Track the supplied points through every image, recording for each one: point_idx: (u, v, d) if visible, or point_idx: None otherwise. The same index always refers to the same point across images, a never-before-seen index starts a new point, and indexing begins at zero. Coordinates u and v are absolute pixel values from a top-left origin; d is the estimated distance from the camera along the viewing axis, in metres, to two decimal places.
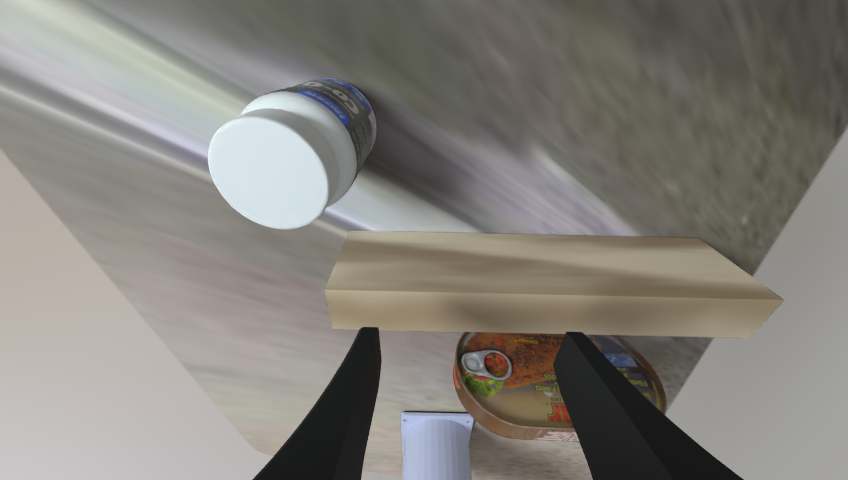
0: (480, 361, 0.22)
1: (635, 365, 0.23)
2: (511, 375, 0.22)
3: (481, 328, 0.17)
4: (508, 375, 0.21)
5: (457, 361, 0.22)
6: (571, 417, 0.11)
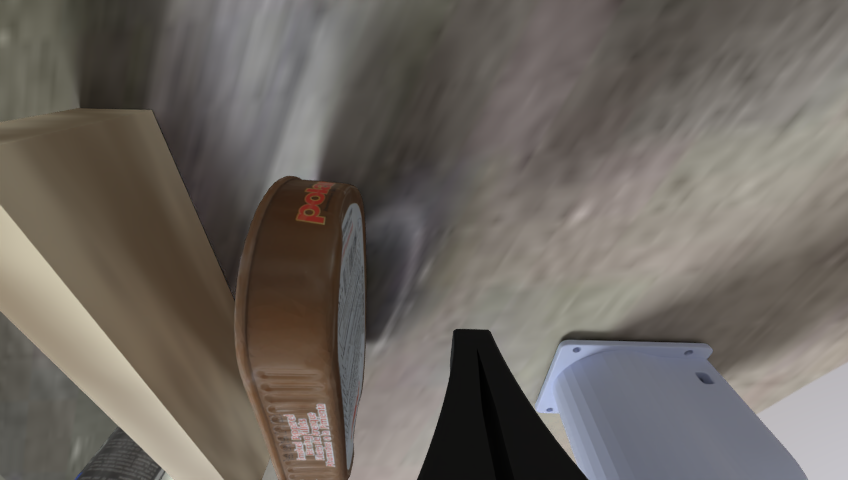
0: None
1: None
2: None
3: (195, 451, 0.16)
4: None
5: None
6: None
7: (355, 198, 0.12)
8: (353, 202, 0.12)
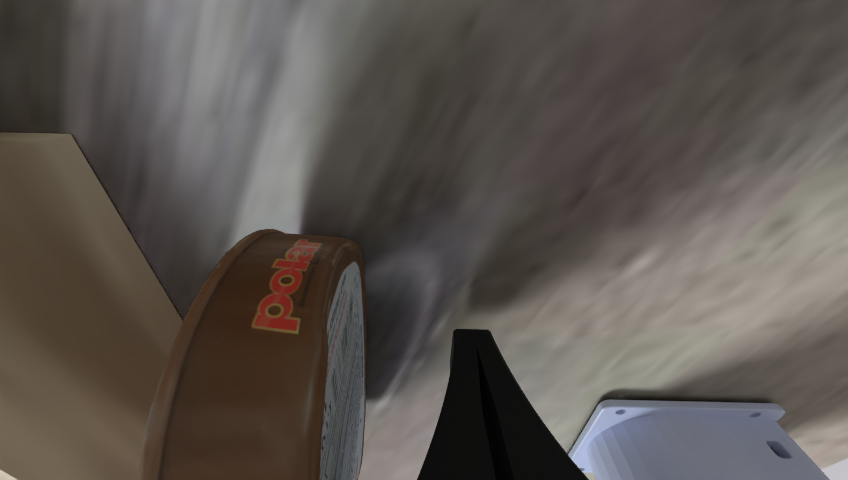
0: None
1: None
2: None
3: None
4: None
5: None
6: None
7: (350, 259, 0.08)
8: (347, 265, 0.08)
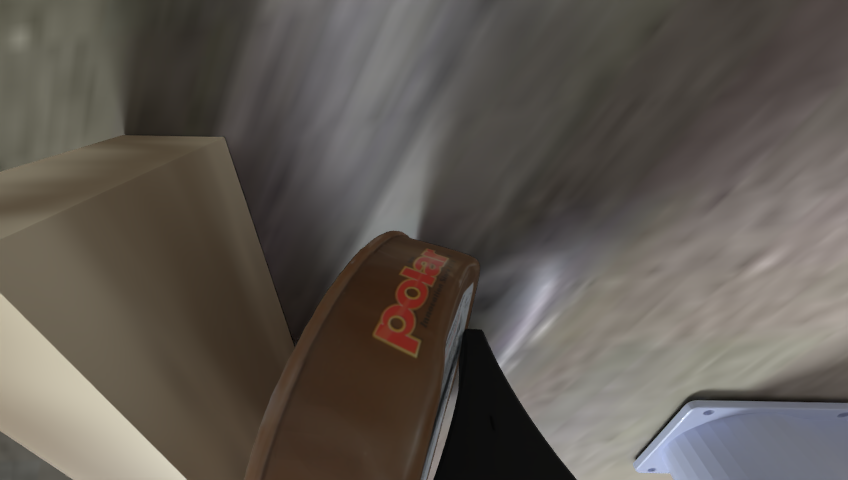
0: None
1: None
2: None
3: None
4: None
5: None
6: None
7: (472, 280, 0.08)
8: (468, 286, 0.07)
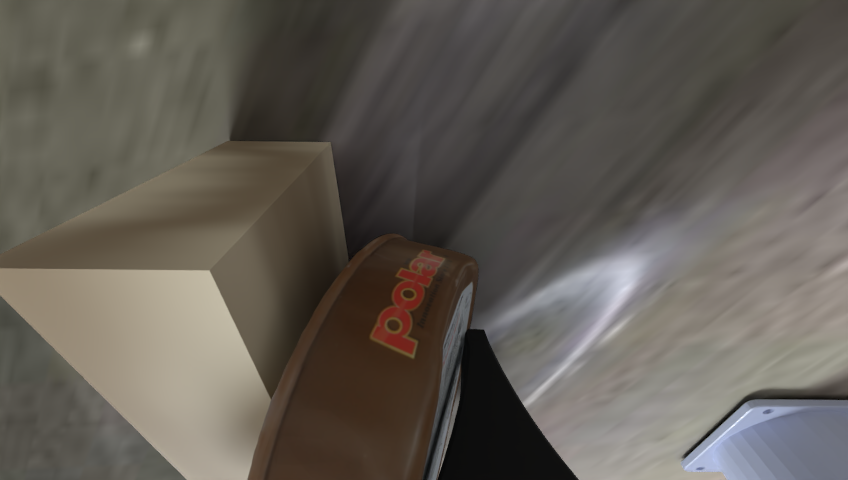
0: None
1: None
2: None
3: None
4: None
5: None
6: None
7: (470, 279, 0.08)
8: (466, 286, 0.07)
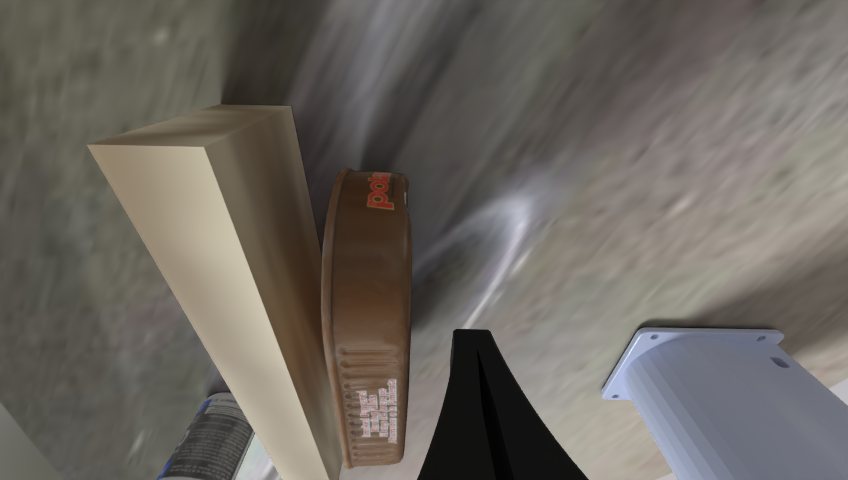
0: None
1: None
2: None
3: (306, 436, 0.16)
4: None
5: None
6: None
7: (406, 187, 0.12)
8: (405, 191, 0.12)
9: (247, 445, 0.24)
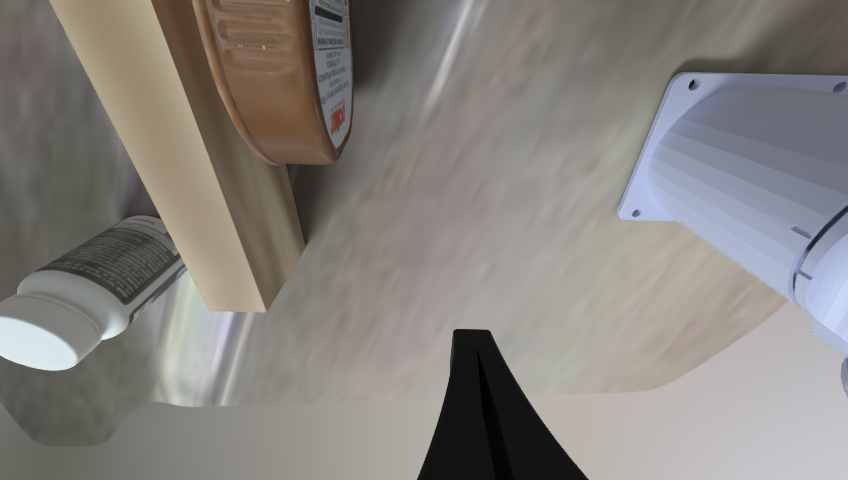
0: None
1: None
2: None
3: (196, 147, 0.11)
4: None
5: None
6: None
7: None
8: None
9: (165, 274, 0.19)
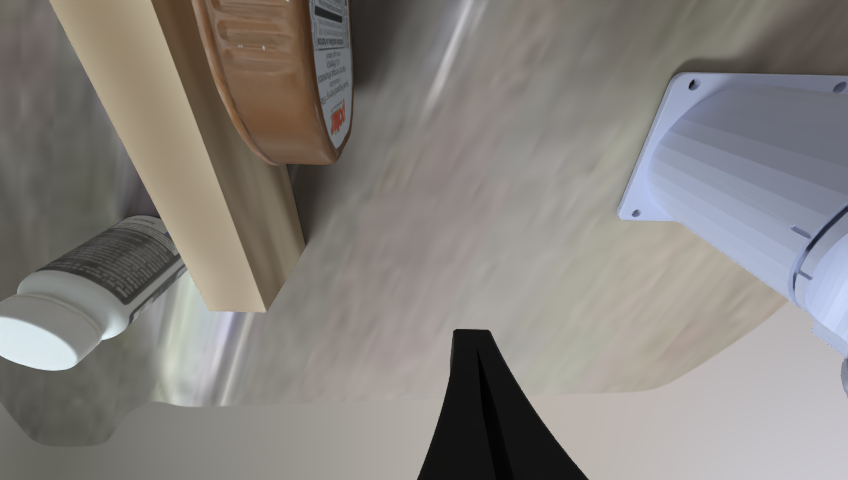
0: None
1: None
2: None
3: (196, 147, 0.11)
4: None
5: None
6: None
7: None
8: None
9: (165, 274, 0.19)
